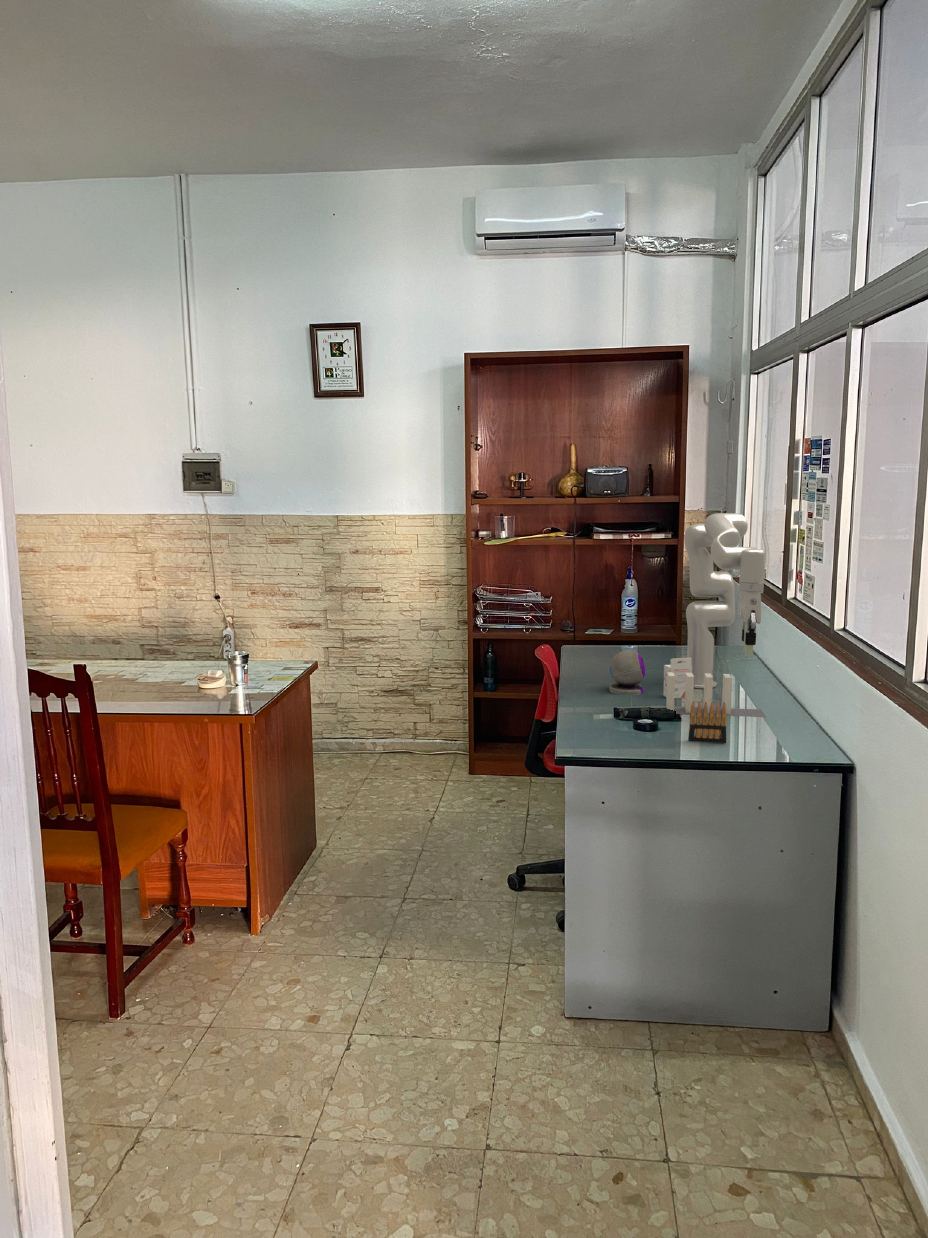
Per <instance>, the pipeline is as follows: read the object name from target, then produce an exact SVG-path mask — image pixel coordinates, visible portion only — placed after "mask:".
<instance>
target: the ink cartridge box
mask: <svg viewBox="0 0 928 1238" xmlns="http://www.w3.org/2000/svg"><path fill="white" fill-rule="evenodd" d="M667 672H674V675H675V693H674V699H685V683H686V673H692V666H691V658H687V657H679V658H677V657H676V658H670V664H663V695H662V696H664V697H667Z"/></svg>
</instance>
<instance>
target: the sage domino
mask: <svg viewBox="0 0 928 1238" xmlns="http://www.w3.org/2000/svg"><path fill="white" fill-rule="evenodd" d="M748 623H751V621H748ZM749 626H750V625H749ZM746 632H747V624H746V623H745V627H744V641H743V648H742V649H743V652H742V653H743V656H745V657H746V658H747V657H748V658H753V657H754V645H746V644H745V636H746Z"/></svg>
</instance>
